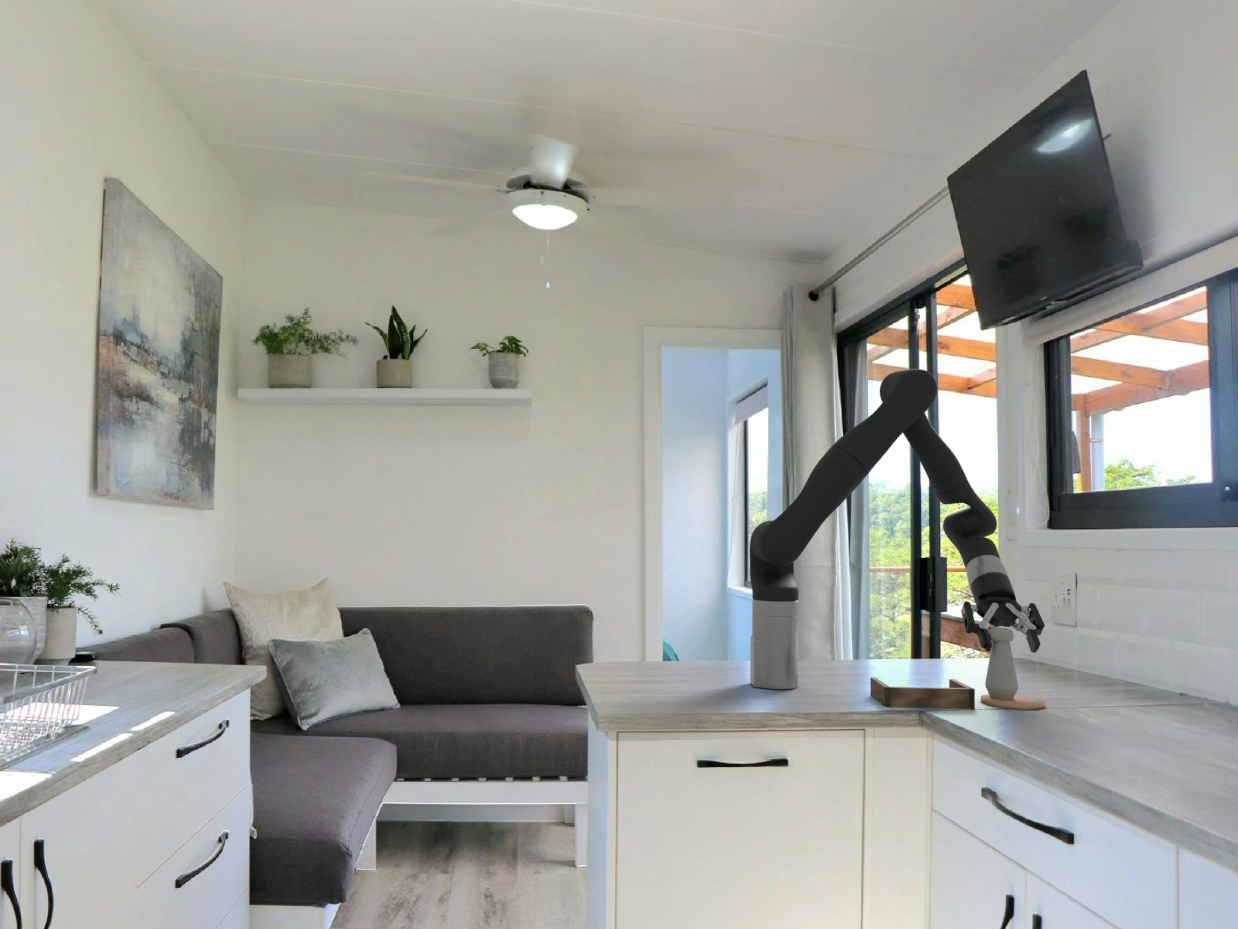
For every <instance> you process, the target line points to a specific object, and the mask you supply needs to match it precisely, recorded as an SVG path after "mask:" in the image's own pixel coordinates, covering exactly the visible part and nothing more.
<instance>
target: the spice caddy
mask: <svg viewBox="0 0 1238 929" xmlns="http://www.w3.org/2000/svg"><path fill="white" fill-rule="evenodd" d="M948 683H949V684H948V685H949V686H948V687H931V686H929V687H927V686H924V687H923V686H922V687H921V686H919V687H918V686H889V684H886V683H885V682H883V681H882V680H880V679H879V678H877V677H870V694H869V695H870V697H871V698H872V699H874V700H875V701H876V702H878V703H879V704H880V705H882V706H883V707H885V708H907V709H910V708H915V709H956V710H959V709H960V710H961V709H962V710H976V707H975V705H976V702H975V701H976V696H975V695H976V693H975V692H976V690H975V688H974V687H971V686H969V685H967V684H966V683H963V682H961V681H959V680H957V679H954V678H949V679H948Z"/></svg>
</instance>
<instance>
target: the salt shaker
mask: <svg viewBox="0 0 1238 929" xmlns="http://www.w3.org/2000/svg"><path fill="white" fill-rule="evenodd" d="M988 633H989V636H990V639H991V642H992V647H991V650H990V651H989V653H990V654H989V659H988V666H987V671H986V676H985V682H984V684H985V688H986V691H987V694H989V696H990V697H991V698H992V699H998V700H1012V699H1013V698H1014V696H1015V695H1017V692H1018V690H1019V684H1018V683H1019V682H1018V677H1017V672H1016V667H1015V663H1014V662H1015V661H1014V656H1013V651H1012V647H1011V646H1012V645H1011V642H1012V641H1014V636H1015V635H1014V631H1013V630H1012V629H1011V628H1009V627H992V628H990V629H989V630H988Z"/></svg>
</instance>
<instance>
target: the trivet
mask: <svg viewBox="0 0 1238 929" xmlns="http://www.w3.org/2000/svg"><path fill="white" fill-rule="evenodd" d="M980 703H981V704H984V705H987V706H991V707H995V708H1001V709H1010V710H1012V709H1013V710H1023V711H1024V710H1028V711H1029V710H1040V709H1044V708H1045V707H1046V704H1045V703H1046V702H1045V701H1044V700H1043V699H1041V698H1038V697H1033V696H1030V695H1029V696H1026V695H1020V694H1015V696H1014V698H1013V699H1012V700H998V699H992V698H991V697H990V696H989V693H987V694H982V695H981V696H980Z"/></svg>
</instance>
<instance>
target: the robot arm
mask: <svg viewBox="0 0 1238 929" xmlns="http://www.w3.org/2000/svg"><path fill="white" fill-rule="evenodd" d="M937 395H938V384H937V381H936V378H935V376H934V375H933V374H932V373H930V372H929V371H928V370H925V369H920V368H909V369H903V370H902V369H901V370H897V371H894V372H891V373H889V374H888V375H886V376H885V377H883V380H882V381H881V383H880V386H879V398H880V400H881V404H880V405H879V406H878V407H877V408H876V410H875V411H873V413H871V414H870V415H869V416H868V417H867V418H865V419H864V420H862V421H861V422H860V423H858V424H857V425H855V426H854V427H853V428H851V429H849V430H848V431H847V432H845V433H844V434H843V435H842V436H841V437H840V438H839V439H837V440H836V442H834V443H833V444H832V445H831V447H830V448H829V449H828V450H827V451H826V452H825V454H823V456H822V457H821V458H820V459H819V460H818V462H817V463H816V465H815V466H814V467H813V469H812V471H811V472H810V474H809V476H808V478H807V479H806V482H805V484H804V486H803V488H802V489H801V491H800V493H799V494H798V496H797V497H796V498H795V499H794V500H793V501H792V502H791V504H789V506H788V507H787V508H786V509H785V510H784V511H782V513H780V515H778V516H777V517H776V518H775V519H773V520H766V521H764V522H761V523H760V524H758V525H757V526H756V527H755V528H754V530H753V531H752V534H751V536H750V541H749V581H750V586H751V591H752V594H751V597H752V600H751V601H752V611H751V612H752V613H751V614H752V615H751V616H752V618H751V621H752V622H751V623H752V624H751V625H752V626H751V628H752V629H751V635H750V658H749V659H750V664H749V665H750V666H749V667H750V672H749V673H750V674H749V675H750V678H749V680H750V684H751V685H752V687H753V688H761V689H762V688H763V689H771V690H787V689H789V690H790V689H795V688H798V687H799V594H800V593H799V587H798V584H797V582H796V577H795V566H794V565H795V561H797V560H798V559H799V557H800V556H801V555H802V553H803V552H804V550H805V549H806V547H807V546H808V544H809V543H810V541H811V540H812V539H813V537H814V536H815V534H816V533H817V532H818V530H819V529H820V528H821V526H822V525H823V524H824V522H825V521H826V520H827V519H828V518H829V517H830V516H831V515H832V514H833V512H834V513H835V511H836V510H837V509H838V508H839V507H840V506H841V505H842V504H843V503H844V502H845V501H846V499H847V498H848V497H849V496H850V495H851V494H852V493H853V492H854V491H855V490H856V488H858V486H859V485H860V484H861V483H862V482H863V481H864V480H865V478H867V476H868V475H869V474H870V472H871V471H872V469H874V467H875V466H876V465H877V464H878V462H880V460H881V459H882V458H883V457H884V456H885V454H887V452H888V451H889V450H890V448H891V447H892V446H893V445H894V443H895V442H896V441H897V440H898V438H899V437H900V436H902V434H903V435H904V437H905V438H906V440H907V442H908V443H909V445H910V447H911V448H912V450H913V452H914V453H915V455H916V457H917V458H918V460H919V462H920V464H921V466H922V468H923V470H924V471H925V474H926V476H927V477H928V478H927V479H928V481H929V483H930V484H931V487H932V489H933V491H934V493H935V495H936V497H937V499H938V501H939V503H941V504H943V505H954V504H955V505H956V504H965V505H966V506H968V507H964V508H963V509H959V510H958V511H954V512H952V513H950V514H948V515H947V516H945V518H944V519H943V522H942V529H943V532H944V535H946V537H947V538H948V540H949V542H951V543H952V545H953V546H954V547H955V548H956V550H957V552H958V553H959V555H960V557H961V559H962V562H963V566H964V568H965V572H966V577H967V582H968V586H969V588H970V592H971V595H972V598H973V600H974V603H975V604H971V602H970V601H964V602H963V605H962V608H961V610H960V613H961V618H962V621H963V625H964V626H963V627H964V630H965V632H966V633H967V634H968V635H969V634H970V635H971V634H972V633H973V634H976V636H977V638H978V641H979V644H980V647H981V648H982V649H984V652H991V647H992V640H991V639H990V636H989V630H988V628H989V626H990V625H991V626H993V628H1000V627H1003V628H1013V629H1014V630H1015V631H1016V632H1020V633H1022V634H1023V635H1024V636H1026V637H1025V638H1026V642H1027V644H1028V647H1029V650H1030V652H1031V654H1032V653H1033V654H1034V653H1035V654H1036V653H1037V651H1038V650H1039V649H1040V647H1041V640H1040V639H1039V636H1041V635H1042V633H1043V630H1044V628H1045V627H1046V626H1045V622H1044V620H1043V618H1042V616H1041V613H1040V611H1039V609H1038V607H1037V605H1036V603H1033V602H1030V603H1029V604H1028V605H1020V604H1019V602H1018V601H1017V597H1016V594H1015V591H1014V589H1013V585H1012V583H1011V580H1010V576H1009V574H1008V572H1007V570H1006V567H1005V566H1004V564H1003V562H1002V559H1001V557H1000V554H999V551H998V549H997V546H996V543H995V542H994V541H993V539H991V538H988V537H989V536H992V535H993V534H994V533H995V532H996V530H997V527H998V520H997V518H996V516H995V514H994V512H993V511H992V510H991V509H990V507H989V506H988V505H987V504H986V503H985V502H984V501H983V500H982V499H981V498H980V496H979V495H978V494H977V493H976V492H975V490H974V489H973V487H972V486H971V484H970V481H969V480H968V478H967V475H966V474H965V471H964V469H963V467H962V465H961V463H960V461H959V459H958V457H957V456H956V454H955V453H954V452H953V451H952V449H951V448H950V446H949V445H947V443H946V442H945V441H944V439H942V437H941V436H940V435H939V434H938V433H937V431H936V430H935V429H934V427H933V425H932V424H931V422H930V420H929V419H928V416H927V415H926V412H927V411H928V410H929V409H930V408H931V407H932V405H933V403H934V402H935V400H936V398H937ZM975 613H976V614H977V616H979V617H980V618H982V620H981V621H980V622H979V623H976V622H975V621H976V620H975V616H974V614H975ZM1017 620H1018V622H1017Z"/></svg>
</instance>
